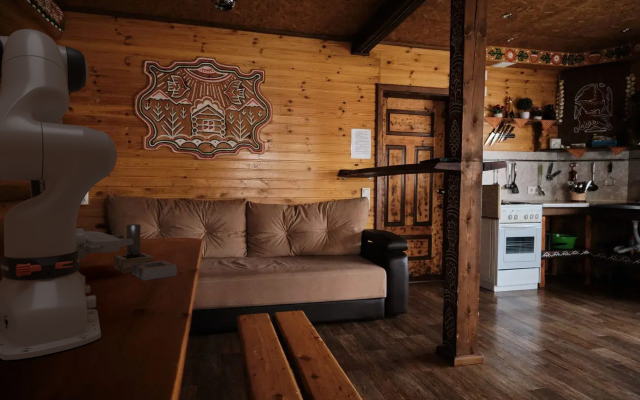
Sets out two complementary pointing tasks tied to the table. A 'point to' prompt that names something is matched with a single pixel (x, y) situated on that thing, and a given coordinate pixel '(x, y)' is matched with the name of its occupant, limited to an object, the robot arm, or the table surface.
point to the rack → (130, 262)
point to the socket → (154, 270)
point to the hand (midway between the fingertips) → (127, 239)
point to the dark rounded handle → (134, 240)
